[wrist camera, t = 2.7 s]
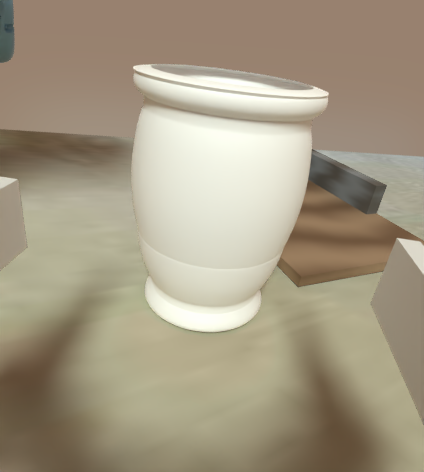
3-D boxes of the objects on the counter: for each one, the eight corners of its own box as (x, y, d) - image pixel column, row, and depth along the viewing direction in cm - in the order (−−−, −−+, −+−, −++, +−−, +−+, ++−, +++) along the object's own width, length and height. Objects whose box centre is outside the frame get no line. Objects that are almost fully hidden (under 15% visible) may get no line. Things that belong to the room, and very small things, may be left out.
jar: (122, 347, 22) (123, 73, 14) (134, 254, 31) (139, 57, 23) (292, 347, 23) (369, 102, 16) (256, 259, 32) (295, 76, 25)
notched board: (192, 179, 48) (195, 145, 46) (298, 175, 55) (306, 146, 53) (298, 286, 29) (312, 238, 27) (439, 260, 36) (459, 220, 34)
